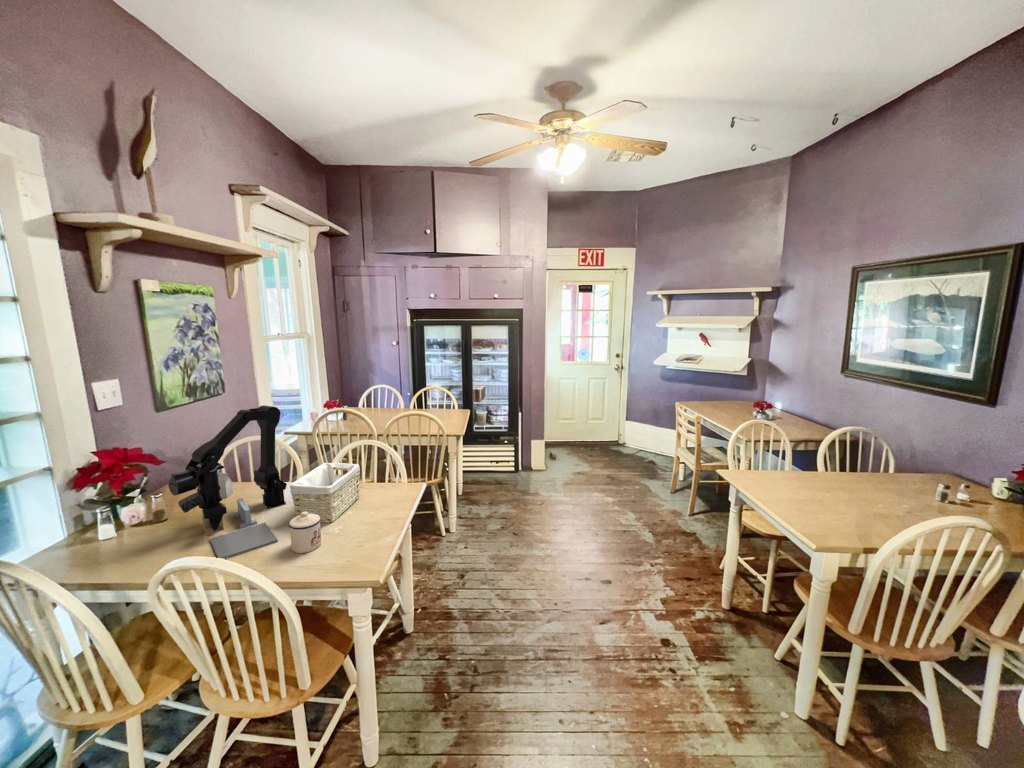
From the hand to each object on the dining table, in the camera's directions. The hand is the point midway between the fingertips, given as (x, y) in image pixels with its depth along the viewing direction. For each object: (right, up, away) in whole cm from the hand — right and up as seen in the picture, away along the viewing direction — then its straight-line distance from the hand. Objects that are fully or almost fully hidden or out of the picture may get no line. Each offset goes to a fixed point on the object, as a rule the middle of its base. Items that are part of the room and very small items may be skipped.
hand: (213, 526), depth 143 cm
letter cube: (0, -1, 0) cm, 1 cm away
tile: (+15, -2, -7) cm, 17 cm away
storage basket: (+33, +1, +16) cm, 37 cm away
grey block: (-16, +3, +27) cm, 32 cm away
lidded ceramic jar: (+37, -3, -8) cm, 38 cm away
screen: (+6, 0, +7) cm, 10 cm away
